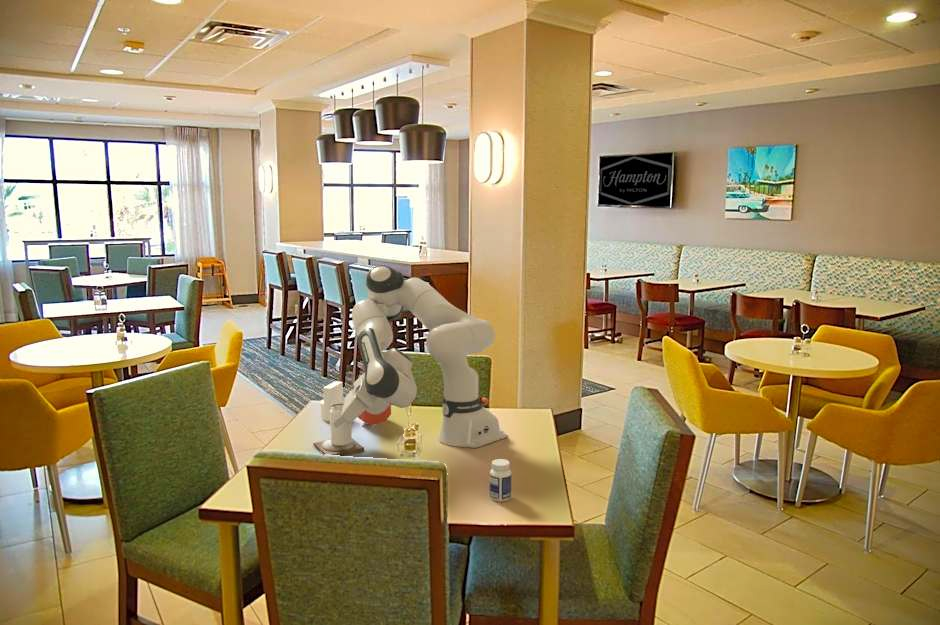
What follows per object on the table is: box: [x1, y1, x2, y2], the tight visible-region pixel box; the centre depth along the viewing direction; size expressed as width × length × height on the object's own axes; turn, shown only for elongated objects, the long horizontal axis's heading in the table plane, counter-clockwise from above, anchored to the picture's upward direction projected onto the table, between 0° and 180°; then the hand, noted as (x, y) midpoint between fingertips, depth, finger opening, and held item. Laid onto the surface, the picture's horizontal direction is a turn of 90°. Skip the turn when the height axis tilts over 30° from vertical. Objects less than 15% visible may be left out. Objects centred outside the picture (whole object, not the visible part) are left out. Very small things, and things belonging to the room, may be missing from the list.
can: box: [329, 403, 353, 446], centre depth 212 cm, size 6×6×12 cm
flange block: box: [312, 438, 365, 456], centre depth 213 cm, size 12×12×2 cm
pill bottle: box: [489, 458, 512, 503], centre depth 179 cm, size 6×6×10 cm
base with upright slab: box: [320, 380, 345, 422], centre depth 241 cm, size 9×9×12 cm
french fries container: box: [357, 374, 392, 427], centre depth 235 cm, size 5×11×18 cm, turn 131°
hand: (336, 420), depth 211 cm, fingers open, 8 cm apart
